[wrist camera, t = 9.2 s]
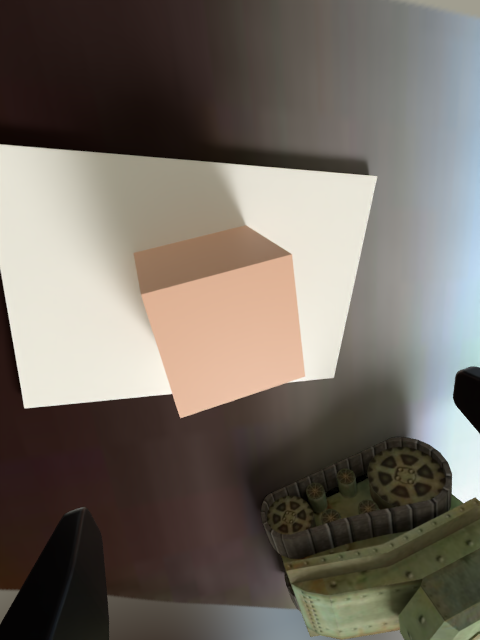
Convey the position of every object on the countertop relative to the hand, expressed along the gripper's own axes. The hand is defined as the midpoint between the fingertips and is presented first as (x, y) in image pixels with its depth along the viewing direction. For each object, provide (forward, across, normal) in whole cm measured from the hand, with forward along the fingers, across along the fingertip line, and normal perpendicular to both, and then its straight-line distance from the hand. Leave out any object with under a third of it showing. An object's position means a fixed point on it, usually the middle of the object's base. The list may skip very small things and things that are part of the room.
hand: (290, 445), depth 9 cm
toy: (+11, -10, +20) cm, 25 cm away
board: (+11, 0, 0) cm, 11 cm away
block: (+10, 0, 0) cm, 10 cm away
